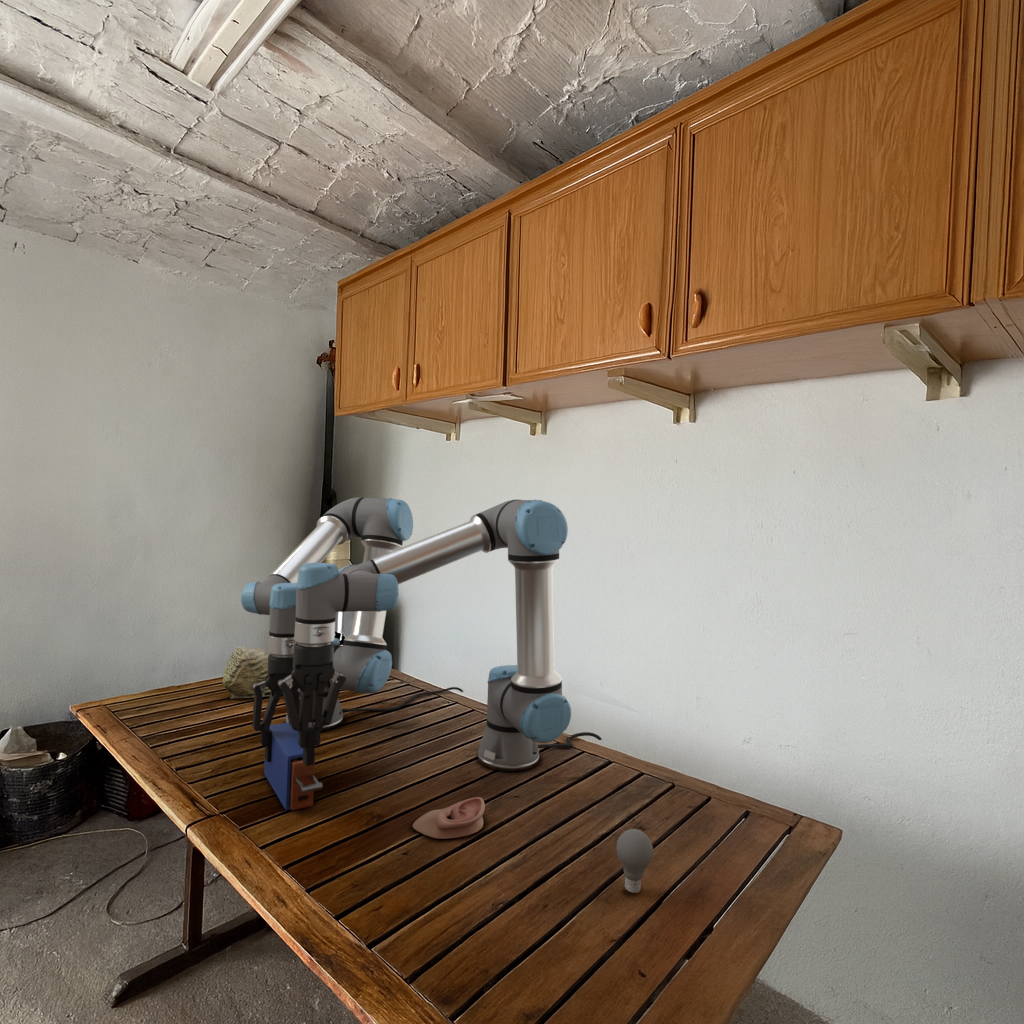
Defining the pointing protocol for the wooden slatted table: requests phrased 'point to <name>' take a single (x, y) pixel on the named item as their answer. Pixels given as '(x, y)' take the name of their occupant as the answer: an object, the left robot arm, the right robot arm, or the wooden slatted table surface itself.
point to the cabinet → (282, 760)
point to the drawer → (302, 784)
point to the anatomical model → (453, 820)
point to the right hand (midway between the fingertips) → (308, 762)
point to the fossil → (245, 672)
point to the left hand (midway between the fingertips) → (282, 756)
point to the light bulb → (634, 857)
